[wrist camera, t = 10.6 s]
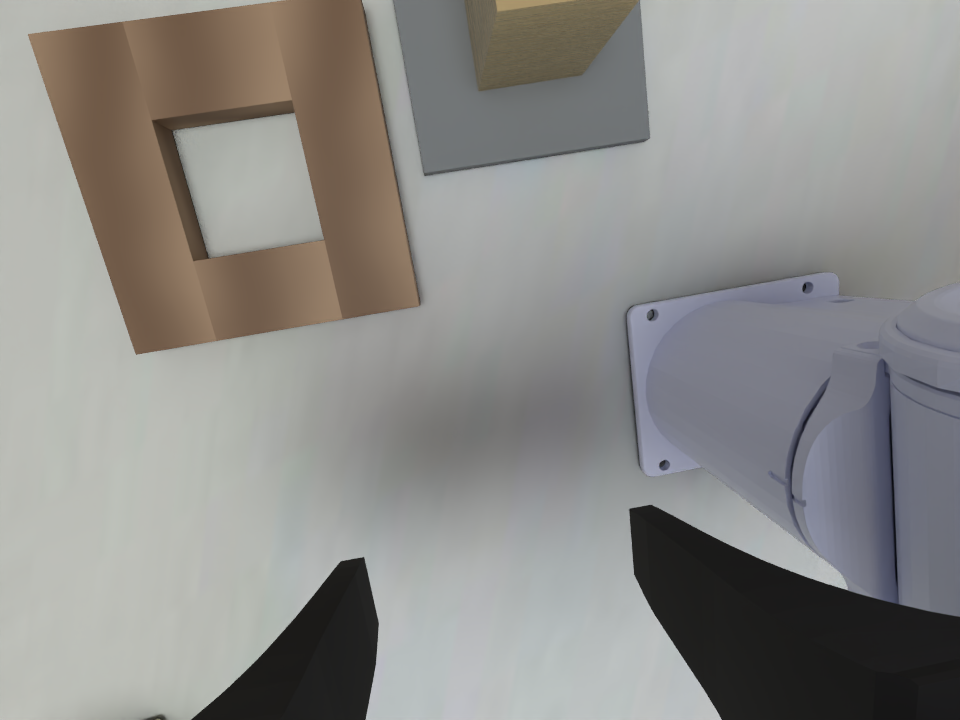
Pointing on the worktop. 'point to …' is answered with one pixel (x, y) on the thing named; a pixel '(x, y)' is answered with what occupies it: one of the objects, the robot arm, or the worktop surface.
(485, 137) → the charcoal mat
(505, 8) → the brass plug
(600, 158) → the worktop surface
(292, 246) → the walnut square frame
